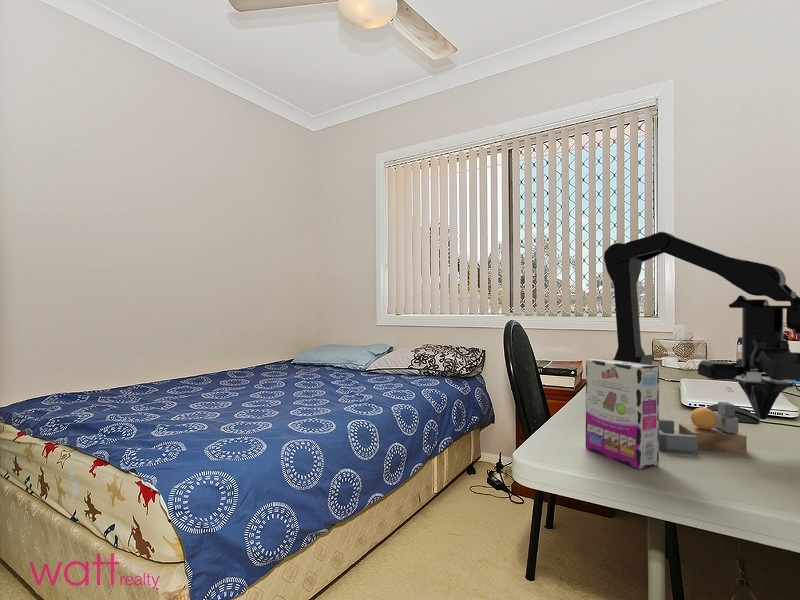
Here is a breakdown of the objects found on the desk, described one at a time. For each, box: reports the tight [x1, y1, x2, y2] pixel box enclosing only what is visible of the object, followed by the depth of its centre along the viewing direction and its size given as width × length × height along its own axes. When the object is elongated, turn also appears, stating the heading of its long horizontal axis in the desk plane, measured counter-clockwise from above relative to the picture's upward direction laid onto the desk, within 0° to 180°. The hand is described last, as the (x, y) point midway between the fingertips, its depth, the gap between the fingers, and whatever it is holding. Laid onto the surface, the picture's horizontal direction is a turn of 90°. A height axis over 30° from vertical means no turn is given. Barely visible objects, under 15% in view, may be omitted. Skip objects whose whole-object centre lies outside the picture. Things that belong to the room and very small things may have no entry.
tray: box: [659, 418, 698, 455], centre depth 82 cm, size 6×11×3 cm, turn 168°
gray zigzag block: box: [713, 401, 739, 433], centre depth 80 cm, size 2×5×5 cm, turn 168°
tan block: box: [678, 423, 748, 454], centre depth 80 cm, size 8×6×3 cm
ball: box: [690, 407, 717, 430], centre depth 81 cm, size 4×4×4 cm
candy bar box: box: [585, 358, 660, 470], centre depth 74 cm, size 11×5×16 cm, turn 23°
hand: (761, 418), depth 79 cm, fingers closed
